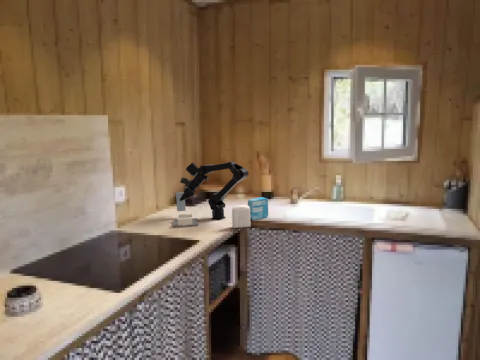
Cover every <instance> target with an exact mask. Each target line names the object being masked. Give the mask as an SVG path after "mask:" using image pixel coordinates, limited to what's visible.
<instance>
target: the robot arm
mask: <svg viewBox="0 0 480 360" xmlns="http://www.w3.org/2000/svg"><path fill="white" fill-rule="evenodd" d="M223 170H230V172H231V174H232V178H231V179H230V180H229V181H227V183H226V184H225V186H223V187H222V189H221V190H219V191H217V192H214V193H212V194H211V196H210V197H208V201H207V202H208V205H209V207H210V210H211V216H212V217H211V218H210V219H211V220H217V221H221V220H223V219H225V218H226V216H225V209H224V208H226V203H225V202H224V199H225V197H226V196H227V195H228V194H229V193H230V192H231V190H233V189H234V188H235V186H236V185H237V184H239V183H240V182H241V181H244V180H245V179H246V178H247V177H249V170H248V169H247V168H245V167H243V166H241V165H240V164H237V163H236V162H235V161H233V160H231V161H228V162H223V163H216V164H202V165H200V166H199V167H198V166H197V165H196V163H195V162H191V163H190V164H189V165H187V167H186V168H185V171H186V172H187V173H188V174H189V175H190V176H191V177H193V178H191V179H189V178H186V177H183V176H182V177H180V181H179V183H180V184H183V185H184V186H183V192H184V194H183V195H182V197H181V198H180V201H182V200H184V199H185V200H186V199H188V198H193V197H194V195H195V191H196V190H197V188H199V187H200V185H202V184H203V183H204V181H207V182H208V181H209V175H208V174H212V173H213V172H216V171H223Z"/></svg>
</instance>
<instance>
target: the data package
mask: <svg viewBox="0 0 480 360" xmlns="http://www.w3.org/2000/svg"><path fill="white" fill-rule="evenodd" d="M247 206H249V207H250V220H252V221H256V220H257V221H258V220H260V219H267V218H268V217H269V199H268V197H263V196H262V197H257V198H255V197H254V198H251V199H248V201H247Z"/></svg>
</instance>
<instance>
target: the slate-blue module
mask: <svg viewBox="0 0 480 360" xmlns="http://www.w3.org/2000/svg"><path fill="white" fill-rule="evenodd" d="M183 194H184V191H179V192H177V191H176V192H175V196H176V211H177V212H186V199H184V200H182V201H180V198H181V197H182V195H183Z"/></svg>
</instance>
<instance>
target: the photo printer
mask: <svg viewBox="0 0 480 360" xmlns="http://www.w3.org/2000/svg"><path fill="white" fill-rule="evenodd" d="M231 219H232V220H231V221H232V224H231V225H232V228H233V229H236V228H237V229H238V228H251V219H250V207H249V206H248V205H245V204H244V205H243V204H241V205H240V204H239V205H235V206H232V209H231Z"/></svg>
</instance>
